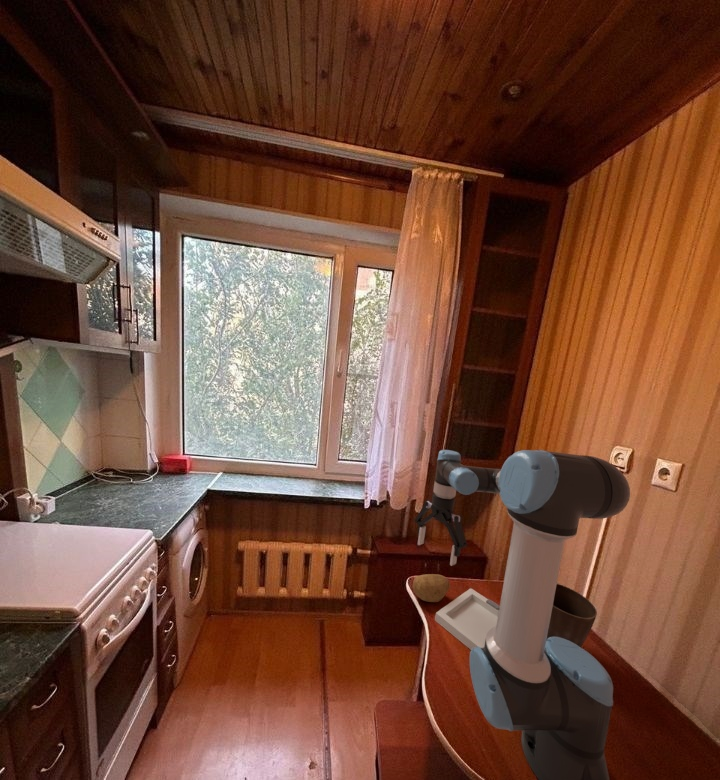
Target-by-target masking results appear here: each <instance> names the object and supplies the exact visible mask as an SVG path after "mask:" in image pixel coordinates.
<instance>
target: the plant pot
mask: <svg viewBox="0 0 720 780" xmlns="http://www.w3.org/2000/svg"><path fill="white" fill-rule="evenodd" d="M597 615H598V611H597V608H596V607H595V606H594V604H593V603H592V602H591V601H590V600H589V599H588V598H586V597H585V596H584V595H582V594H581V593H579V592H578V591H576V590H575V589H572V588H570V587H569V586H566V585H564V584H560V583H557V585H556V590H555V596H554V601H553V607H552V612H551V618H550V623H549V628H548V634H547V639H548V638H549V637H560V638H563V639H566V640H568V641H571V642H573V643H574V644H576V645H578V646H579V647H581V648H582V646H583V644H584V643H585V641H586V640H587V638H588V636H589V634H590V632H591V630H592V628H593V626H594V623H595V621H596V618H597ZM547 639H546V641H547Z"/></svg>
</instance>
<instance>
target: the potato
mask: <svg viewBox="0 0 720 780" xmlns="http://www.w3.org/2000/svg"><path fill="white" fill-rule="evenodd" d="M412 589H413V591H414V593H415V595H416V596H417V597H418V598H419V599H420V600H421V601H424V602H426V603H427V602H429V603H438V602H441V601H442V600H443V599H444V597H445V596H446V595H447V593H448V591H449V590H450V580H449V579H448V578H447V577H446V576H444V575H442V574H435V573H431V574H430V573H428V574H421V575H418V576H415V577H414V579H413V582H412Z"/></svg>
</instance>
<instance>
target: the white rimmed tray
mask: <svg viewBox="0 0 720 780" xmlns="http://www.w3.org/2000/svg"><path fill="white" fill-rule="evenodd" d="M499 607H500V604H498V603H496V602H495V601H493V600H492V599H490V598H487V597H485V596H484V595H482V594H481V593H479V592H477V591H476V590H474V589H473V588H471V587H470V588H468V590H466V591H465V592H463V593H461V595H459V596H457V597H456V598H455V599H453V600H452V601H451V602H449V603H448V604H446V605H445V606H443V607H442V608H440V609H439V610H438V611H436V612H435V616H434V622H436V623H437V624H439V625H440V626H441V627H442V628H444V629H445V630H446V631H447V632H448V633H450V634H451V635H452V636H454V638H456V639H457V640H458V641H459V642H461V643H462V644H463V645H464V646H465V647H467V648H468V649H469V650H470V651H471V650H472V649H473V648H476V647H480V648H483V647H484V645H485V639H486V635H487V632H488V631H489V630H490V629H491V628H493V627H496V625H497V619H498V613H499Z"/></svg>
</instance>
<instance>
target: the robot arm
mask: <svg viewBox="0 0 720 780" xmlns="http://www.w3.org/2000/svg"><path fill="white" fill-rule="evenodd" d="M461 457H462V456H461V454H460V452H458V451H455V450H450V449H441V450H439V452H438V456H437V459H436V470H435V478H434V482H433V483H434V484H433V491H432V492H433V494H432V498H431V500H432V501H431V500H427V501H424V502H423V506H422V508H421V510H420V511H419V512H418V514H417V515H416V517H414V520H413V521H414V523H416V524H417V526H418V527H417V533H416V534H417V535H418V539H417V546H422V545H423V544H424V543H425V537H426V536H425V535H426V529H427V526H426V524H427V523H428V522H430V521H431V520H433V519H435V520H436V521H439V522H440V523H442V524H443V525H444V526H445V528H446V529H447V531H448V533H449V536H450V538H451V541H452V543H453V545H452V547H451V553H450V561H449V565H450V566H451V567H452V566H455V565H456V564H457V560H458V557H460V554H461V549H464V548H466V547H467V546H468V542H467V540H466V536H465V535H466V534H465V531H464V528H463V527H464V526H463V525H462V515H461V514H458V515H457V514H454V507H455V502H456V498H455V497H456V495H457V492H458V493H459V494H462V495H464V496H467V495H468V496H469V495H471V494H474V493H475V492H476V493H477V492H480V493H491V494H499V497H500V499H501V501H502V503H503V505H504V506H505V508H507V509H506V513H507V514H508V516H509V518H510V519H511V520H512V522H513V526H512V531H511V538H510V544H509V551H508V555H507V561H506V567H505V573H504V578H503V585H502V591H501V597H500V601H499V602H500V603H499V606H500V607H499V613H498V619H497V625H496V627H493V628H491V629H490V630H489V631H488V632H487V635H486V639H485V645H484V647H483V648H480V647H476V648H473V649H472V650H470V652H469V671H470V677H471V678H470V679H471V682H472V687H473V691H474V693H475V698H476V700H477V703H478V706H479V708H480V710H481V712H482V714H483V716H484V718H485V719H486V721H487V722H488V723H489V724H490V726H492V727H494V728H495V729H498V730H506V731H507V730H508V731H509V732H513V731H521V747H522V750H523V754H524V757H525V759H526V761H527V763H528V765H529V767H530V769H531V770H532V772H533V773H534V775H535V777H536V778H537V779H538V780H610V775H609V772H608V767H607V766H608V765H607V762H606V756H605V748H606V742H607V736H608V730H609V725H610V718H611V713H612V707H613V706H614V697H613V694H614V684H613V681H612V678H611V676H610V674H609V673H608V671H607V669H605V667H604V666H603V665H602V663H600V661H598V660H597V659H596V658H595V657H594V656H593V655H592V654H591V653H589V652H588V651H587V650H585V649H584V648H582V646H581V647H579V646H578V645H576V644H574V643H573V642H571V641H568V640H566V639H563V638H560V637H549V638H548V639H547V634H548V628H549V623H550V618H551V612H552V607H553V601H554V596H555V590H556V585H557V584H558V578H559V575H560V573H559V572H560V567H561V562H562V558H563V551H564V546H565V543H566V542H565V541H566V540H568V539H572V538H575V537H576V536H577V534H578V528H579V522H580V519H591V520H592V519H593V520H594V519H596V520H597V519H599V520H601V519H607V518H608V519H609V518H611V517H614V516H616V515H618V514H620V513H621V512H622V511H624V510H625V508H626V507H627V506H628V503H629V501H630V498H631V488H630V486H629V482H628V480H627V478H626V476H625V474H623V472H621V470H620V469H619V468H618V467H617V466H615V465H614V464H612V463H610V462H609V461H607V460H605V459H602V458H599V457H596V456H591V455H581V454H572V453H571V454H570V453H564V452H557V451H549V450H543V449H536V450H531V449H523V450H519V451H516V452H514V453H513V454H512V455H509V456H508V457H507V459H506V460H505V461H504V463H503V465H502V467H501V468H490V467H489V468H488V467H480V466H479V467H478V466H471V465H464V464H462V463H461V462H462V460H461V459H462V458H461ZM429 509H431V513H429V514H428V515H427V516H425V515H426V513H427V512H428V511H429ZM424 517H425V518H424ZM546 639H547V641H546Z"/></svg>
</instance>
